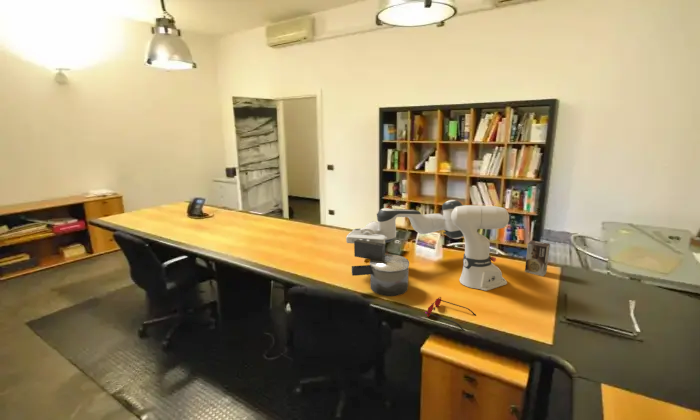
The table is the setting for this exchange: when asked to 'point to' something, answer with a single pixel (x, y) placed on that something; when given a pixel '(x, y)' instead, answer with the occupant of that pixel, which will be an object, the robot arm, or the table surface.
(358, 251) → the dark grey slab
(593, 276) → the table surface
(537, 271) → the coffee box
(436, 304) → the glasses
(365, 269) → the pot
